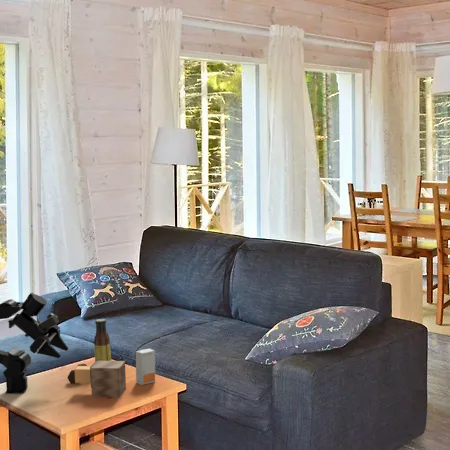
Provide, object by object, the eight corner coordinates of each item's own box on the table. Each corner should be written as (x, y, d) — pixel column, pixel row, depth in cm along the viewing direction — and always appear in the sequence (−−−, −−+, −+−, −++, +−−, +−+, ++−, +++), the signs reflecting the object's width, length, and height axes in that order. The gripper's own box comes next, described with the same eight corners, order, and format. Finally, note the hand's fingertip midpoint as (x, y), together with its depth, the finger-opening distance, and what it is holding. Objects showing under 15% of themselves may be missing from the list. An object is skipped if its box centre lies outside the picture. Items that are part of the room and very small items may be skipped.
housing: (90, 396, 256) (89, 367, 255) (97, 388, 265) (96, 360, 264) (119, 397, 255) (119, 368, 254) (125, 388, 264) (125, 360, 263)
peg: (75, 383, 258) (74, 369, 258) (78, 379, 262) (78, 365, 262) (101, 383, 257) (101, 369, 257) (104, 379, 261) (104, 366, 261)
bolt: (86, 376, 285) (77, 387, 270) (74, 370, 285) (65, 381, 270) (93, 363, 285) (84, 374, 270) (81, 357, 285) (72, 367, 270)
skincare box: (142, 385, 267) (141, 353, 266) (135, 382, 270) (135, 351, 269) (156, 382, 271) (155, 350, 270) (149, 379, 274) (148, 348, 273)
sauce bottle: (106, 365, 292) (104, 317, 290) (114, 369, 288) (113, 319, 286) (91, 369, 288) (90, 319, 286) (99, 372, 284) (98, 322, 282)
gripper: (33, 314, 250) (69, 343, 250) (51, 303, 268) (84, 329, 268) (14, 339, 251) (50, 367, 251) (33, 326, 270) (66, 352, 270)
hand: (63, 353), depth 260 cm, fingers open, 9 cm apart
